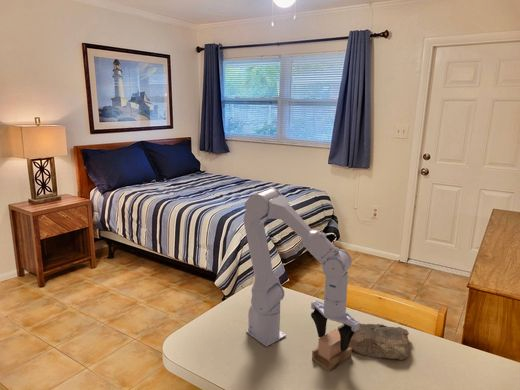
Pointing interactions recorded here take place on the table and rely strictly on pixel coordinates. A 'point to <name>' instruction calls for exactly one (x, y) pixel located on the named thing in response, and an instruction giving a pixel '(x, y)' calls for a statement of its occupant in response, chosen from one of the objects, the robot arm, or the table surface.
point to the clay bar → (330, 345)
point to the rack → (333, 362)
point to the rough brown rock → (380, 341)
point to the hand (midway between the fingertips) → (332, 342)
